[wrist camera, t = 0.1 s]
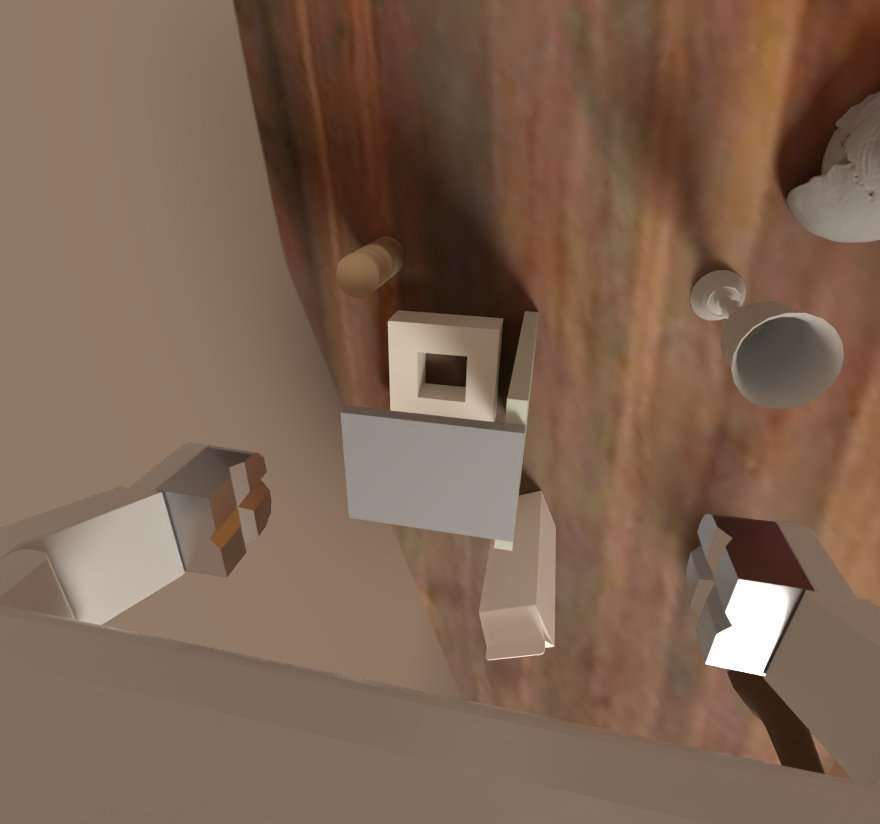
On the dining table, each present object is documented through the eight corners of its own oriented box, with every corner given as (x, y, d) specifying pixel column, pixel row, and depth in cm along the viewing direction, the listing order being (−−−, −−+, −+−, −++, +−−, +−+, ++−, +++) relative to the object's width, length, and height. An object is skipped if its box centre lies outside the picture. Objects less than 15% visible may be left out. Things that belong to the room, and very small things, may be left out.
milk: (497, 499, 68) (472, 637, 49) (542, 489, 66) (533, 629, 47) (513, 535, 71) (494, 680, 51) (557, 526, 68) (554, 675, 49)
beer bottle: (784, 595, 66) (888, 804, 45) (738, 627, 70) (813, 834, 49) (735, 565, 66) (816, 763, 45) (690, 599, 70) (747, 796, 49)
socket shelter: (397, 301, 59) (312, 385, 39) (538, 312, 56) (527, 408, 36) (400, 411, 65) (328, 532, 45) (526, 425, 63) (511, 560, 42)
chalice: (669, 280, 52) (716, 339, 36) (741, 245, 49) (825, 293, 34) (695, 341, 54) (751, 423, 39) (766, 311, 52) (856, 386, 36)
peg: (369, 235, 56) (334, 252, 47) (405, 237, 55) (376, 255, 47) (371, 272, 58) (337, 296, 49) (405, 275, 57) (378, 299, 48)
